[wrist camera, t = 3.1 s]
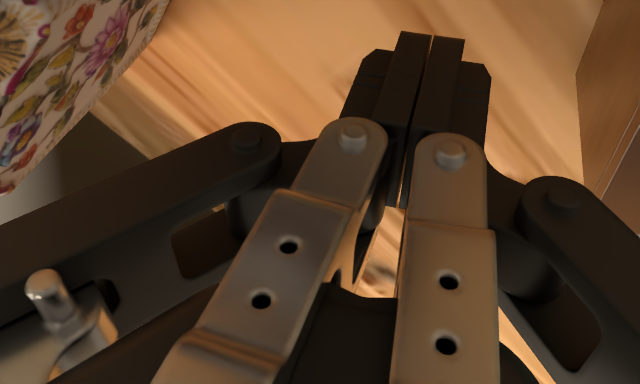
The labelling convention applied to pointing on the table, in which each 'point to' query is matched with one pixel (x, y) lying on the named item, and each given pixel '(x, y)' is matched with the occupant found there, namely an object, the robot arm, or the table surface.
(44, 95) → the decorative jar
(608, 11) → the box
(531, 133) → the table surface
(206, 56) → the table surface
